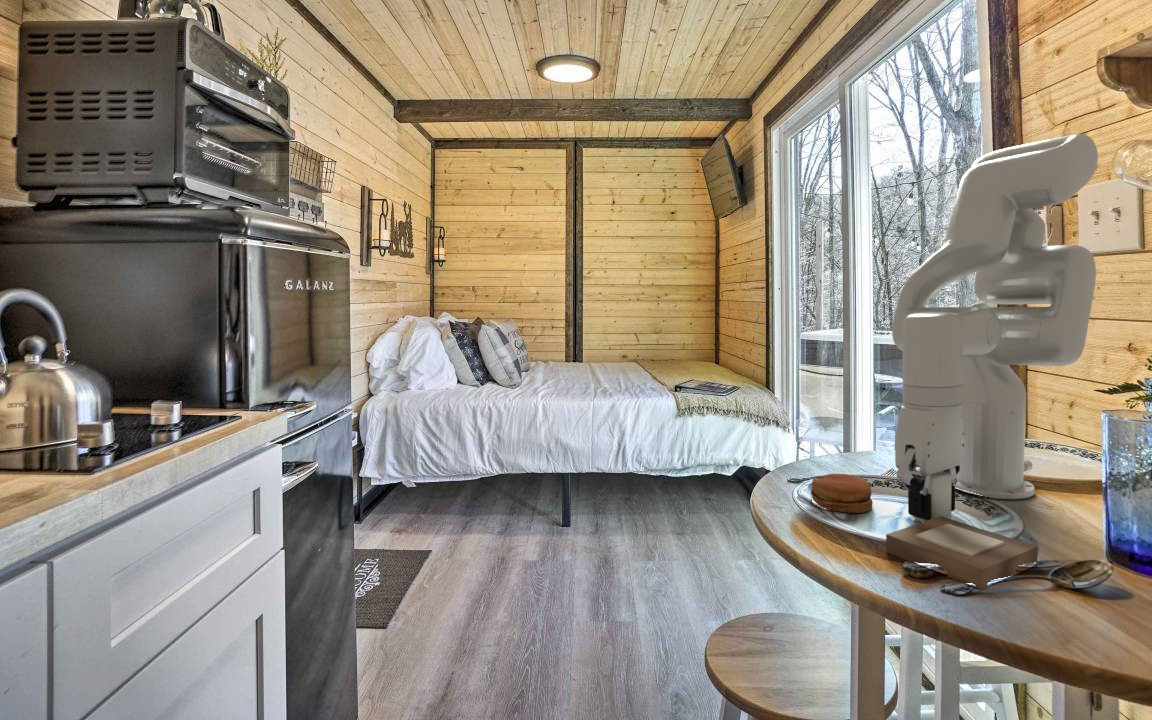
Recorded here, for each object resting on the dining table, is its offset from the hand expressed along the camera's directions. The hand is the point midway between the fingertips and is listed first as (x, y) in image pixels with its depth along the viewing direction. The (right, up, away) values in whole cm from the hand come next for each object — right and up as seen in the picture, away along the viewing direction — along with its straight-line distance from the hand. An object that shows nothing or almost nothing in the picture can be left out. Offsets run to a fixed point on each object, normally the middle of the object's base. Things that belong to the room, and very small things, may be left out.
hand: (931, 511), depth 86 cm
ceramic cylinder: (0, -1, 0) cm, 1 cm away
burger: (-10, -2, +9) cm, 13 cm away
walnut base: (-4, -3, -12) cm, 13 cm away
